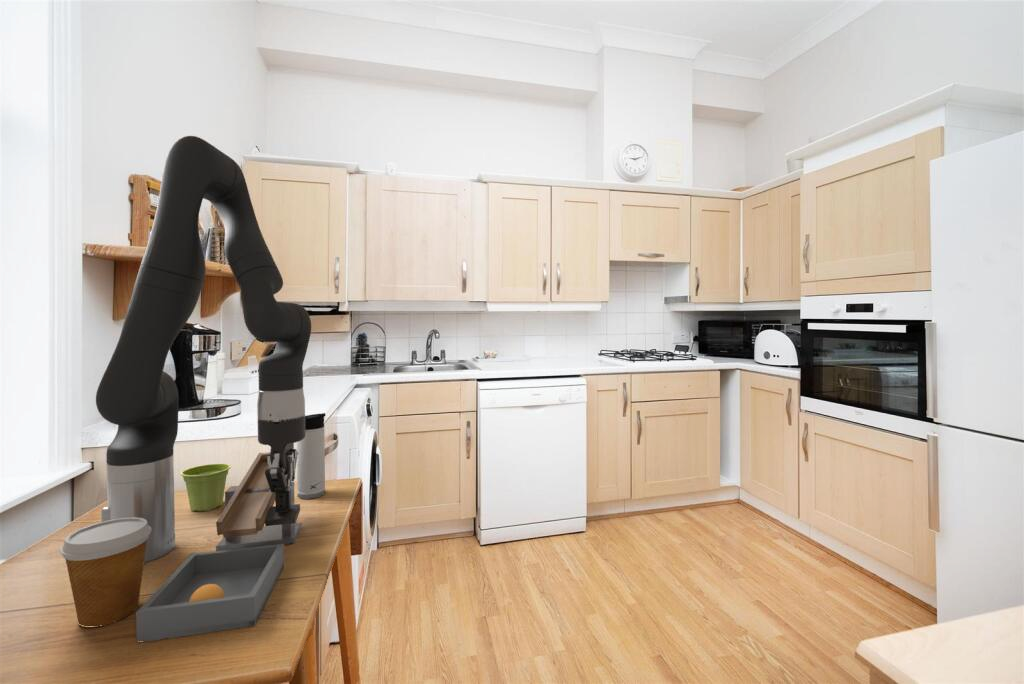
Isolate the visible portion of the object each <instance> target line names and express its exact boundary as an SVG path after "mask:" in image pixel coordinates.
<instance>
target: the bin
mask: <svg viewBox="0 0 1024 684" xmlns="http://www.w3.org/2000/svg"><path fill="white" fill-rule="evenodd" d="M284 546H285V544H277V545H268V546H259V547H249V548H240V549H231V550H221V551H216V550H213V551H205V552H204V551H203V552H197V553H191V554H190V555H189V556H188V557H187V558H186V559H185V560H184V561H183V562H182V563H181V564H180V566H178V567H177V569H176V570H175V571H174V572H173V573H172V574H171V575H170V576H169V577H168V578H167V579H166V580H165V582H163V583H162V584H161V585H160V586H159V587H158V589H157V590H156V591H155V592H154V593H153V594H152V595H151V596H150V597H149V598H148V599H147V600H146V601H145V602H144V604H142V606H140V608H139V609H138V610H136V614H135V615H136V621H135V622H136V643H137V642H138V641H139V642H140V641H148V642H155V641H161V640H160V639H162V640H166V639H165V638H168V639H174V638H181V636H182V637H188V636H195V635H201V634H202V635H203V634H208V633H215V632H221V631H228V630H235V629H242V628H243V629H244V628H248V627H255V626H256V625H257V622H258V620H259V618H260V616H261V614H262V613H263V611H264V608H265V606H266V605H267V602H268V600H269V598H270V596H271V594H272V592H273V590H274V587H275V586H276V583H277V582H278V580H279V578H280V575H281V574H282V572H283V570H284V568H285V555H284V553H285V551H284ZM206 584H216V585H218V586H220V587H221V589H222V590H223V593H224V598H217V599H209V600H201V601H194V602H189V600H190V598H191V596H192V594H193V593H194V592H195V591H196V590H197V589H198V588H200V587H201V586H203V585H206ZM154 640H155V641H154Z"/></svg>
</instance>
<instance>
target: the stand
mask: <svg viewBox="0 0 1024 684" xmlns="http://www.w3.org/2000/svg"><path fill="white" fill-rule="evenodd" d="M292 483H293V486H292V488H290V489H291V505H295V481H292ZM238 486H239V485H233V486H230V487H229V488H227V489H226V490H224V508H225V507H226V506H227V504H228V502H229V501H230V499H231V498H232V496H233V494H234V493H235V491H236V489H237V488H238ZM302 527H303V523H302V522H298V523H297V522H296V523H294V524H283V525H273V526H265V525H264V527H263V529H262V531H258V533H257V534H254V535H244V536H235V537H225V538H223V537H222V539H221V540H220V541H219V542H218V543H217V544H216V545H215V551H221V550H231V549H240V548H249V547H259V546H268V545H277V544H284V545H291V544H290V543H293V544H295V542H296V540H297V538H298V536H299V534H300V532H301V530H302Z"/></svg>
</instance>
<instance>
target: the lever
mask: <svg viewBox="0 0 1024 684" xmlns="http://www.w3.org/2000/svg"><path fill="white" fill-rule="evenodd" d="M268 454H270V451H268V452H259V453H258V454H257V456H256V458H254V461H253V462H252V464H251V466H249V469H248V470H247V472H246V474H245V475H244V477H243V479H242V480H241V482H240V483H239V485H237V486H238V488H237V489H236V491H235V493H234V494H233V496H232V498H231V499H230V501H229V502H228V504H227V506H226V507H225V506H224V509H223V510H222V511H221V512H222V513H221V514H220V515H219V517H218V518H217V520H216V521H215V524H216V531H217V532H216V533H217V536H220V535H222V539H223V538H225V537H235V536H244V535H254V534H257V533H258V531H262V529H263V527H264V526H274V525H283V524H294V523H297V520H298V518H299V515H300V511H301V504H300V503H297V504H295V503H294V505H291V508H290V509H289V511H288V512H283V513H277V512H276V505H275V504H276V503H275V492H271V491H270V488H269V485H268V481H267V478H266V475H265V471H266V469H267V468H269V465H268V460H267V457H268Z"/></svg>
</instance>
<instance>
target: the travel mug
mask: <svg viewBox="0 0 1024 684" xmlns="http://www.w3.org/2000/svg"><path fill="white" fill-rule="evenodd" d="M325 417H326V413H314V414H309V415H308V414H307V415H305V438H304V439H303V440H301V441H299V442H296V449H297V452H298V455H297V461H296V490H297V491H296V493H297V496H296V497H299V499H300V498H302V499H301V500H310V499H309V498H313V499H317V498H319V496H320V497H322V496H323V495H325V493H326V459H325V458H326V457H325V456H326V453H325V452H326V450H325V449H326V448H325V447H326V444H325V443H326V441H325V434H326V433H325ZM321 495H322V496H321ZM316 497H317V498H316Z"/></svg>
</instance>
